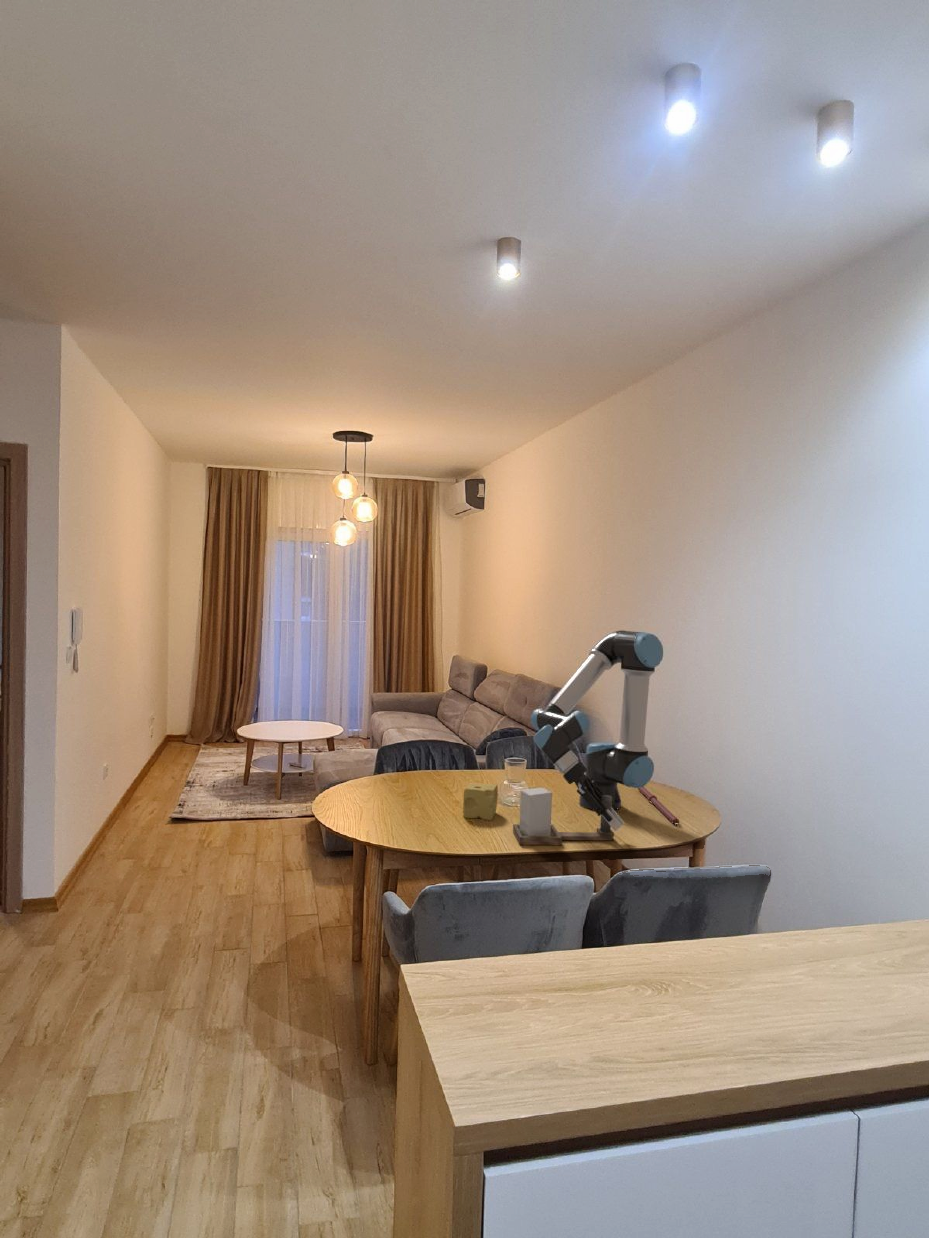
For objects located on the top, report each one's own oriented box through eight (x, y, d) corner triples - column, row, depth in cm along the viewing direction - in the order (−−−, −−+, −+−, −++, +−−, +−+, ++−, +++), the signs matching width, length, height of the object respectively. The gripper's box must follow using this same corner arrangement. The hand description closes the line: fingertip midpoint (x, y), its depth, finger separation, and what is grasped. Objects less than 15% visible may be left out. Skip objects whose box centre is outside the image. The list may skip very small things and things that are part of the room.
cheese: (492, 820, 260) (493, 791, 260) (461, 817, 262) (462, 788, 262) (497, 812, 270) (498, 783, 270) (467, 809, 273) (468, 781, 272)
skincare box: (540, 835, 246) (542, 786, 246) (551, 841, 241) (553, 792, 240) (517, 837, 243) (519, 788, 242) (528, 844, 237) (530, 794, 236)
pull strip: (606, 831, 252) (608, 790, 251) (617, 845, 239) (619, 802, 238) (512, 830, 249) (514, 789, 248) (519, 844, 236) (521, 801, 235)
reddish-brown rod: (636, 791, 307) (636, 783, 307) (643, 791, 307) (644, 783, 307) (671, 826, 262) (671, 817, 262) (680, 826, 262) (681, 817, 262)
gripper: (569, 769, 258) (616, 826, 252) (555, 780, 243) (605, 841, 237) (585, 755, 255) (633, 813, 249) (572, 765, 240) (623, 826, 234)
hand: (619, 826), depth 243 cm, fingers closed on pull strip, 3 cm apart
